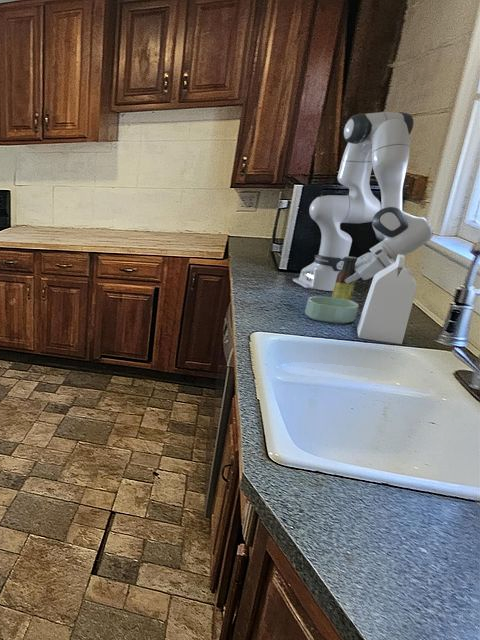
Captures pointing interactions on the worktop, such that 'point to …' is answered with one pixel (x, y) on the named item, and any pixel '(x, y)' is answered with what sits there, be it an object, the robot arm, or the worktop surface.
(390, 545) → the worktop surface
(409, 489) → the worktop surface
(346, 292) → the sauce bottle
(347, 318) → the bowl
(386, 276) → the milk
